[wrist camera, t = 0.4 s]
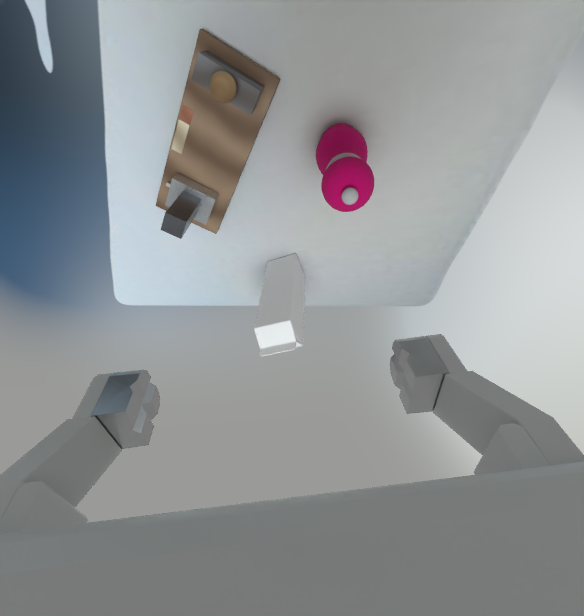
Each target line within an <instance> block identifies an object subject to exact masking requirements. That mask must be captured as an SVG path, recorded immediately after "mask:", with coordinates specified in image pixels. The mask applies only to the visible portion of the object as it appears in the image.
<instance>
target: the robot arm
mask: <svg viewBox="0 0 584 616" xmlns="http://www.w3.org/2000/svg"><path fill="white" fill-rule="evenodd" d="M392 349H393V351H394V355H393V356H392V357H391V360H390V370H391V376H392V379H393V381H394V384H395V386H397V387H398V388H400V389H401V391H400V399H401V401H402V403H403V406H404V408H405V410H406V413H407V414H409V413H420V412H430V411H433V413H434V414H435V415H437V416H438V417H439V418H440V419H441V420H442V421H443V422H445V423H446V424H447V425H448V426H449V427H450V428H452V429H453V430H454V431H455V432H456V433H457V434H459V435H460V436H461V437H462V438H463V439H464V440H466V441H467V442H468V443H469V444H470V445H471V446H472V447H473V448H475V449H476V450H477V451H478V452H479V453H481V454H482V455H483V456H482V458H481V460H480V462H479V463H478V465H477V467H476V469H475V471H474V474H475V475H470V476H462V477H455V478H447V479H438V480H430V481H422V482H414V483H406V484H397V485H389V486H382V487H374V488H365V489H357V490H348V491H341V492H332V493H324V494H317V495H308V496H300V497H291V498H283V499H276V500H267V501H259V502H252V503H243V504H235V505H227V506H219V507H211V508H204V509H203V508H202V509H194V510H187V511H179V512H170V513H162V514H154V515H146V516H138V517H130V518H122V519H114V520H106V521H97V522H89V523H87V521H88V520H87V517H86V516H85V515H84V514H83V513H81V512H80V511H79V510H78V509H76V508H75V507H76V506H77V505H78V503H79V502H80V501H81V500H82V498H83V497H84V496H85V495H86V494H87V492H88V491H89V490H90V489H91V488H92V486H93V485H94V484H95V483H96V482H97V480H98V479H99V478H100V477H101V475H102V474H103V473H104V472H105V471H106V469H107V468H108V467H109V465H110V464H111V463H112V462H113V461H114V460H115V458H116V457H117V456H118V455H119V454H120V452H121V451H122V449H124V448H131V447H138V446H145V445H149V441H150V438H151V434H152V431H153V428H154V425H153V423H152V421H151V420H152V419H153V418H154V417H155V416H156V415H157V414H158V410H159V405H160V396H159V392H158V389H157V387H156V386H155V385H153V384H152V383H150V382H149V381H150V378H151V376H150V375H149V373H148V371H146V370H138V371H128V372H117V373H110V374H99V375H97V376H95V377H94V378H93V380H92V382H91V384H90V386H89V387H88V390H87V391H86V393H85V395H84V397H83V399H82V401H81V403H80V405H79V407H78V409H77V411H76V412H75V415H74V416H73V418H72V419H68V420H66V421H65V422H64V423H63V424H61V425H60V426H59V427H58V428H56V429H55V430H54V431H53V432H52V433H50V434H49V435H48V436H47V437H46V438H44V439H43V440H42V441H41V442H39V443H38V444H37V445H36V446H35V447H34V448H32V449H31V450H30V451H29V452H27V453H26V454H25V455H24V456H23V457H21V459H19V460H18V461H17V462H15V463H14V464H13V465H12V466H11V467H9V468H8V469H7V470H6V471H5V472H3V473H2V474H1V475H0V616H584V455H583V454H582V453H581V451H580V450H579V449H578V448H577V447H576V445H575V444H574V443H573V442H572V440H571V439H570V438H569V437H568V435H567V434H566V433H565V432H564V430H563V429H562V428H561V427H560V426H559V424H558V423H557V422H556V421H555V420H554V418H553V417H551V416H549V415H547V414H546V413H544V412H542V411H541V410H539V409H537V408H536V407H534V406H532V405H530V404H528V403H527V402H525V401H523V400H521V399H520V398H518V397H516V396H515V395H513V394H511V393H509V392H508V391H506V390H504V389H502V388H501V387H499V386H497V385H496V384H494V383H492V382H490V381H489V380H487V379H485V378H483V377H482V376H480V375H478V374H477V373H475V372H473V371H467V370H466V369H465V367H464V365H463V364H462V363H461V361H460V360H459V358H458V357H457V355H456V354H455V352H454V351H453V349H452V348H451V346H450V345H449V343H448V342H447V340H446V339H445V337H444V336H442V335H441V334H438V335H430V336H425V337H424V336H421V337H414V338H407V339H398V340H395V341H394V342H393V346H392Z"/></svg>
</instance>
